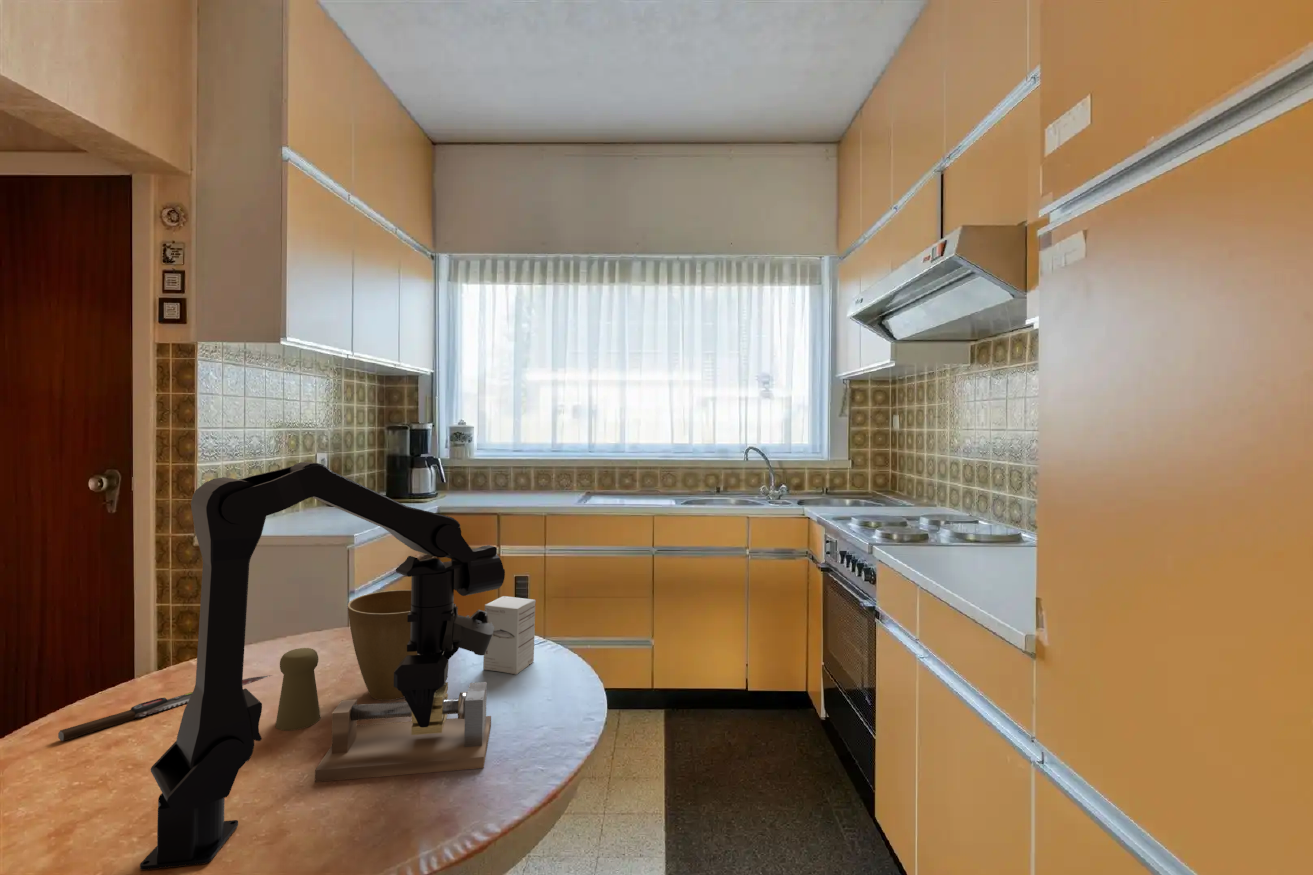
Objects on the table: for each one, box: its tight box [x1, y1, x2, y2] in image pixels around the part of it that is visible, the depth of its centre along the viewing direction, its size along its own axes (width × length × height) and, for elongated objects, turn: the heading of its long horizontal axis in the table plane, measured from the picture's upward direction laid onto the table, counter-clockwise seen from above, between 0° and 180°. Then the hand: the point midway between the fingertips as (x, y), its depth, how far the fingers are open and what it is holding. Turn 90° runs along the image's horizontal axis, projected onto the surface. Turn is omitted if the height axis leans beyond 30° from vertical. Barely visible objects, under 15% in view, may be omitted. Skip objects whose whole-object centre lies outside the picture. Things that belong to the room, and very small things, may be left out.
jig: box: [314, 699, 492, 783], centre depth 85 cm, size 12×21×7 cm, turn 101°
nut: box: [411, 681, 449, 735], centre depth 86 cm, size 5×4×5 cm
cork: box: [275, 647, 321, 731], centre depth 93 cm, size 6×6×11 cm
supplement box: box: [482, 595, 537, 675], centre depth 117 cm, size 7×7×13 cm
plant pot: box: [347, 589, 418, 701], centre depth 105 cm, size 15×15×16 cm
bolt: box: [350, 681, 488, 747], centre depth 85 cm, size 6×19×6 cm, turn 101°
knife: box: [57, 674, 273, 742], centre depth 99 cm, size 3×2×30 cm
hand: (430, 711), depth 86 cm, fingers open, 9 cm apart
